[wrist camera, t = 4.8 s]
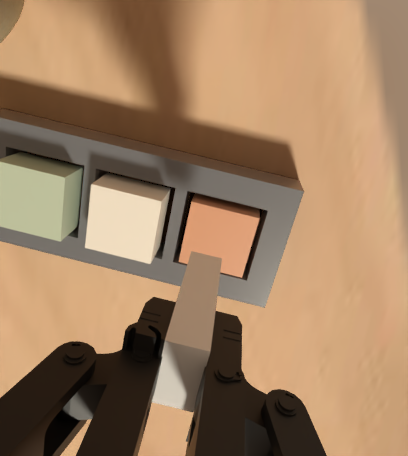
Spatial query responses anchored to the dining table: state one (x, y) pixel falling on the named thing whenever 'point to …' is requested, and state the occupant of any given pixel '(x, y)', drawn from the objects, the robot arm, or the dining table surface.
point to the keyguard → (185, 184)
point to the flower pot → (9, 16)
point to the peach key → (220, 232)
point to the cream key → (126, 217)
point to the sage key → (39, 195)
